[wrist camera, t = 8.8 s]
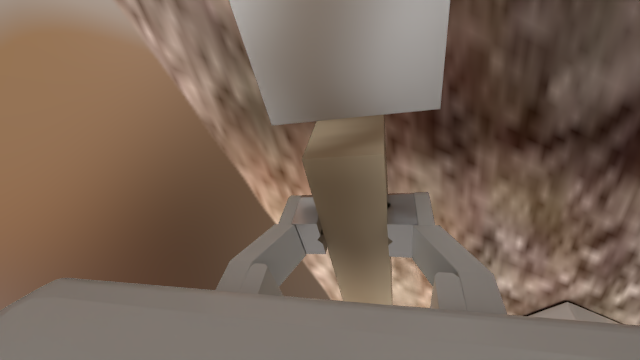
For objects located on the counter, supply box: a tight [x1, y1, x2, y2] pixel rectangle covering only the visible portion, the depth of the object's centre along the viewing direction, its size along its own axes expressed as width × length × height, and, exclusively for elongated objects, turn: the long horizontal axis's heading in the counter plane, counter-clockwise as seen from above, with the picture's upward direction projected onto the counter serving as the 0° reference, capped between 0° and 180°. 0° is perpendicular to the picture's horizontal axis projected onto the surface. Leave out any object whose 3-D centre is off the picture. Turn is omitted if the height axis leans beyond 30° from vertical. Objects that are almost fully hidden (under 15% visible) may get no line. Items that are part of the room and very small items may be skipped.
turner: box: [229, 0, 450, 305], centre depth 10 cm, size 6×17×3 cm, turn 11°
